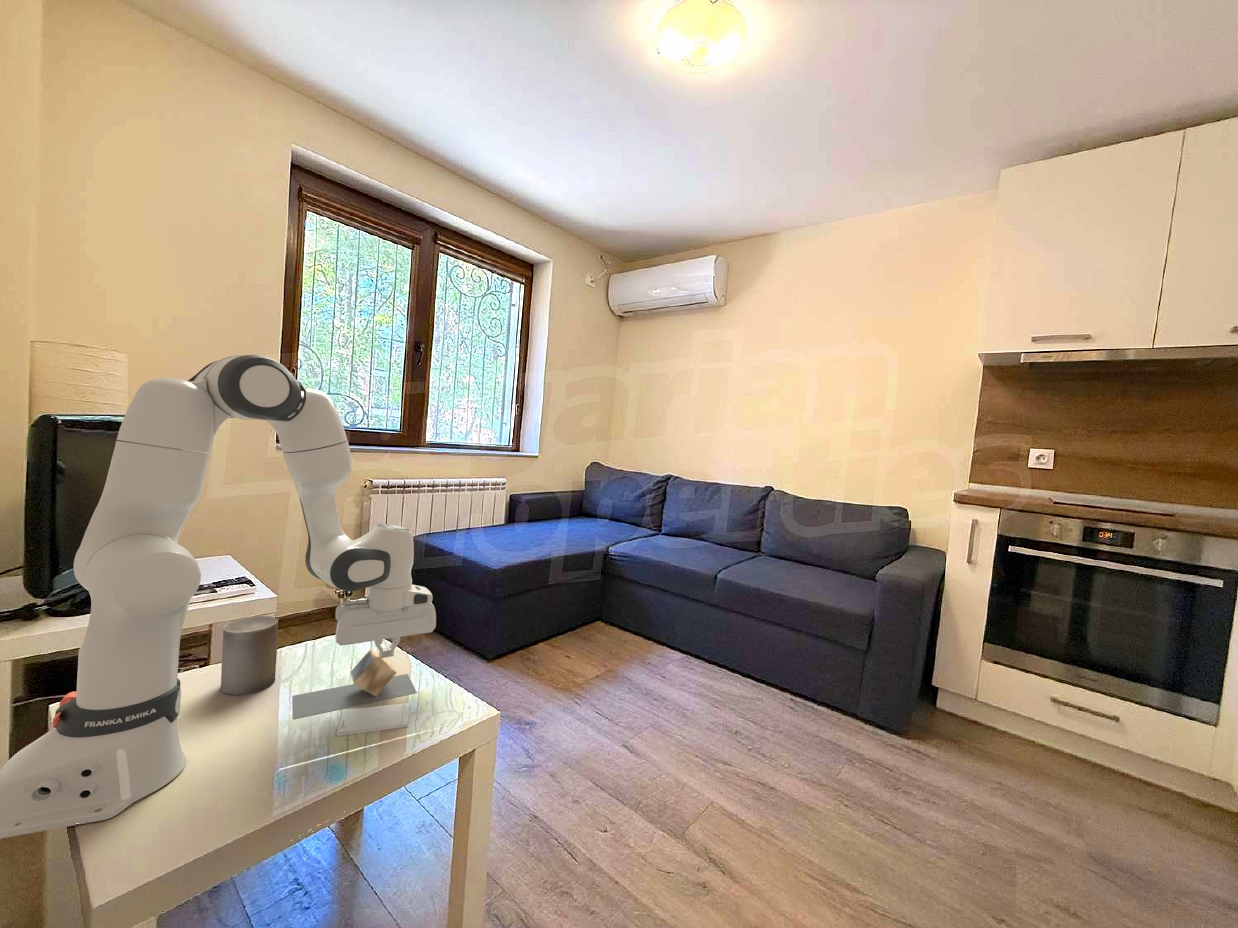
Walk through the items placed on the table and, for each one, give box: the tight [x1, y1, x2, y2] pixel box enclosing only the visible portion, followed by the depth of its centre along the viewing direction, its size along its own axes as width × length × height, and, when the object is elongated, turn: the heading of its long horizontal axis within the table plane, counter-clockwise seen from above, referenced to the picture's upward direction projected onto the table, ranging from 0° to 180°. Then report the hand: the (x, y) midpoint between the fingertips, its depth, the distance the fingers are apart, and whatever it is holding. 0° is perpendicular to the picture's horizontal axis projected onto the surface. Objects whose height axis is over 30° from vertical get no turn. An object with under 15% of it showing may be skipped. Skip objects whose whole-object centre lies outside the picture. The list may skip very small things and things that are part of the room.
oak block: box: [349, 648, 398, 696], centre depth 105 cm, size 6×6×6 cm
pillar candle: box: [220, 615, 279, 696], centre depth 104 cm, size 10×10×15 cm
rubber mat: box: [292, 673, 418, 721], centre depth 104 cm, size 23×10×1 cm, turn 125°
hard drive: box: [335, 702, 411, 737], centre depth 95 cm, size 2×8×12 cm
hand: (386, 656), depth 107 cm, fingers closed
